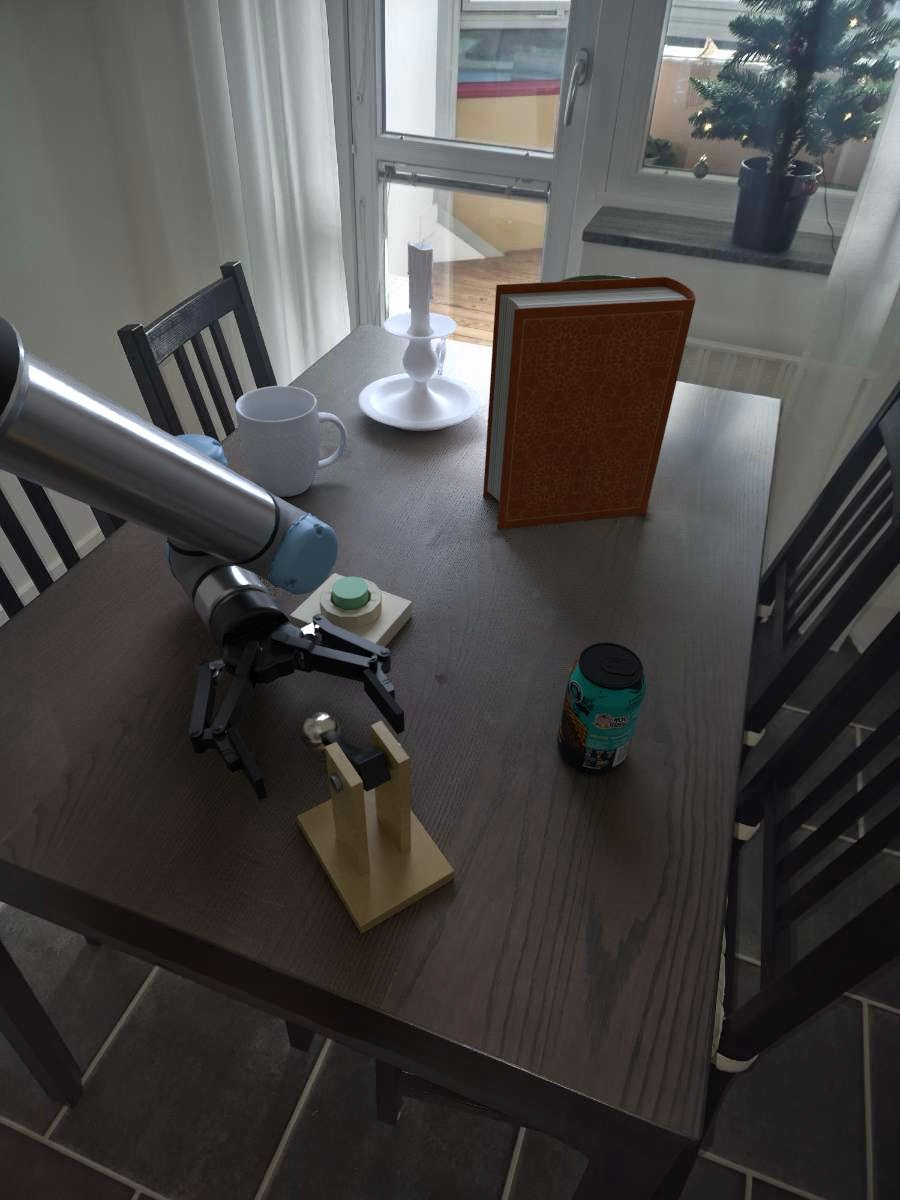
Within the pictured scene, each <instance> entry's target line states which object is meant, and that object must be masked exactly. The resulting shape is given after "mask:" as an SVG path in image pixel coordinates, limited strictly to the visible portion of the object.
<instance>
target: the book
mask: <svg viewBox="0 0 900 1200" xmlns="http://www.w3.org/2000/svg"><path fill="white" fill-rule="evenodd" d="M696 301H697V298H696V294H695V292H694V291H693V290H692V289H691V287H689V286H688V285H686V284H684V283H682V282H681V281H679V280H676V279H674V278H671V277H668V276H651V277H647V276H646V277H632V278H626V279H605V280H584V281H563V282H559V281H545V282H544V281H543V282H524V283H523V282H522V283H501V284H500V283H499V284H496V286H495V300H494V318H493V331H492V333H493V334H492V349H491V363H490V379H489V383H490V384H489V393H488V394H489V397H488V410H487V411H488V412H487V429H486V443H485V458H484V459H485V460H484V477H483V489H482V491H483V493H482V498H483V499H488V498H489V499H490V498H495V499H496V500H497V502H498V512H497V522H496V523H497V524H496V529H497V530H505V529H506V530H507V529H515V528H517V529H518V528H526V527H536V526H543V525H544V526H545V525H553V524H563V523H572V522H573V523H574V522H581V521H583V522H584V521H591V520H593V521H594V520H601V519H609V518H621V517H630V516H639V515H646V514H647V511H648V507H649V503H650V498H651V494H652V489H653V485H654V481H655V477H656V472H657V467H658V463H659V459H660V454H661V450H662V446H663V443H664V442H663V441H664V438H665V432H666V430H667V426H668V425H667V424H668V420H669V416H670V411H671V407H672V404H673V399H674V394H675V390H676V387H677V386H676V385H677V382H678V377H679V373H680V368H681V365H682V361H683V356H684V353H685V352H684V351H685V347H686V342H687V339H688V336H689V335H688V334H689V331H690V330H689V329H690V326H691V323H692V317H693V313H694V309H695V304H696Z"/></svg>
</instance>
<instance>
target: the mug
mask: <svg viewBox="0 0 900 1200" xmlns="http://www.w3.org/2000/svg"><path fill="white" fill-rule="evenodd" d="M234 411H235V415H236V423H237V430H238V434H239V439H240V440H239V441H240V444H241V449H242V452H243V453H242V454H243V456H244V459H245V462H246V464H247V466H248V469H249V471H250V473H251V475H252V477H253V479H255V481H256V483H257V484H258V486H260V487H262V488H264V490H266V491H268V492H270V493H272V494H274V495H275V496H277V497H279V498H286V497H287V498H288V497H294V496H295V497H296V496H299V495H301V494H303V493H305V492H306V491H307V490H308V489H309V488H310V487H311V485H312V484H313V482H314V479H315V477H316V475H317V471H320V470H323V469H325V468H328V467H330V466H333V465H334V464H336V463H337V462H338V461H340V460H341V458H342V457H344V456H343V455H344V454H345V453H346V450H347V446H348V434H347V430H346V427H345V424H344V423H343V422H342V420H341V419H340V418H339V417H338V416H337V415H335V414H333V413H329V412H325V411H324V412H323V411H321V412H320V411H319V409H318V401H317V397H316V396H315V395H314V394H313V393H312V392H310V391H309V390H307V389H304V388H301V387H296V386H289V385H271V386H265V387H259V388H256V389H252V390H250V391H248V392H245V393H244V394H242V395H241V396H240V397H239V398H238V399H237V400H236V402H235V404H234ZM323 423H332V424H334V425H335V426H336V427H337V429H338V431H339V435H340V439H339V444H338V447H337V449H336V450H335V452H334V453H332V454H331V455H330V456H329V457H326V458H325V459H321V460H320V456H321V455H320V454H321V427H320V424H323Z"/></svg>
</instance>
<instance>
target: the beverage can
mask: <svg viewBox="0 0 900 1200" xmlns="http://www.w3.org/2000/svg"><path fill="white" fill-rule="evenodd" d="M566 682H567V683H566V687H565V692H564V698H563V703H562V709H561V714H560V720H559V726H558V732H557V736H556V737H557V738H556V742H557V748H558V750H559V752H560V754H561V755H562V757H563V758H564V759H565V760H566V762H568V763H569V764H570V765H572V766H573V767H575V768H577V769H580V770H581V771H585V772H588V773H596V774H601V773H602V774H603V773H608V772H611V771H614V770H615V769H617V768H619V767H620V766H622V765H623V764H624V763H625V761H626V759H627V757H628V754H629V750H630V747H631V743H632V740H633V737H634V733H635V729H636V726H637V722H638V718H639V716H640V712H641V709H642V705H643V702H644V698H645V694H646V690H647V685H648V684H647V677H646V675H645V673H644V665H643V662H642V660H641V659H640V657H639V656H638V655H637V653H635V652H634V651H633V650H631V649H630V648H628V647H626V646H624V645H621V644H618V643H615V642H597V643H596V642H595V643H592V644H590V645H588V646H586V647H585V648H584V649H583V650H582V651H581V653H580V655H579V656H578V657H577V658H576V659H575V660H574V661H573V662H572V664H571V665H570V668H569V671H568V677H567V681H566Z"/></svg>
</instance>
